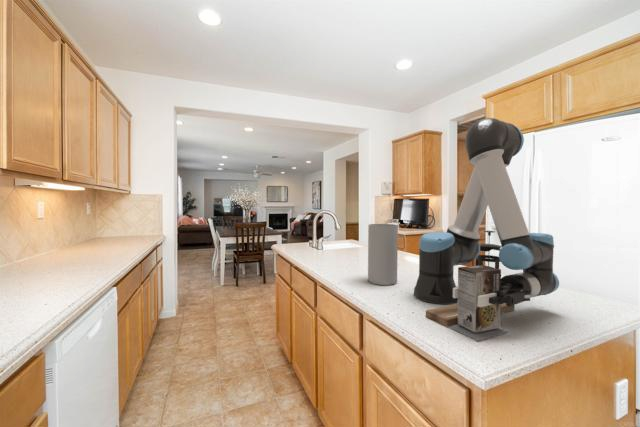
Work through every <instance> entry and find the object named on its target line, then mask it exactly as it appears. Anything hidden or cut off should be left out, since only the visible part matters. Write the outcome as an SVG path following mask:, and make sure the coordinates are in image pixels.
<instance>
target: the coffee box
mask: <svg viewBox="0 0 640 427" xmlns="http://www.w3.org/2000/svg"><path fill="white" fill-rule="evenodd" d="M457 272H458V274H457V275H458V276H457V287H458V301H457V304H458V324H459V325H461V326H463V327H465V328H467V329H469V330H471V331H473V332H475V333H477V332H482V331H487V330H491V329H496V328H501V329H502V327H501V325H502V324H501V323H502V321H501V318H502V317H501V316H502V314H501V304H498V303H497V304H493V305H488V306H484V307H478V296H480V295H485V294H490V293H497V296H498V291H501V278H502V269H501V268H499V269H496V268H495V267H493V266H490V265H489V266H488V265H485V264H483V265H476V264H475V265H467V266H459V267H457Z"/></svg>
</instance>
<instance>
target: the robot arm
mask: <svg viewBox="0 0 640 427" xmlns="http://www.w3.org/2000/svg"><path fill="white" fill-rule="evenodd" d="M464 141H465V142H464V143H465V151H466V153H467V157H468V160H469V163H470V164H472V165H473V166H474V167H473V169H472V173H471V174H470V175H471V176H470V179H469V181H468V184H467V187H466V189H465V192H464V194H463V197H462V201H461V203H460V207H459V209H458V211H457V214H456V216H455V220H454V222H453V223H452V224H451V225H449V226H448V227H447V229H446V232H445V231H444V232H443V231H435V232H428V233H424V234H423V235H421V236H420V239H419V245H418V248H419V258H418V259H419V262H418V263H419V265H418V267H419V268H418V271H419V272H418V277H417V279H416V283H415V286H414V288H413V296H414V298H416V299H418V300H420V301H423V302H426V303H427V302H428V303H431V304H439V305H452V304H456V303H458V286H457V285H456V283H455V278H454V267H455V266H460V265H461V266H462V265H467V264H470V263H471V262H473V261H476V258H477V257H478V255H480V253H481V251H480V245H479V244H480V239H481V235H480V234H479V229H480V227H481V224H482V222H483V219H484V217H485V214H486V211H487V209H489V211H490V215H491V218H492V221H493V224H494V226H495V230H496V233H497V235H498V238H499V241H500V246H502V247H501V248H500V251H499V252H498V257H499V259H500V261H501V262H500V263H501V264H502V265H503V267H505V268H507V269H509V270H514V271H519V270H521V271H522V272H517V273H515V274H514V273H513V274H509V275H508V274H507V275H504V276H501V291H498V296H497V293H490V294H485V295H480V296H478V307H484V306H488V305H493V304H497V303H498V304H503V303H506V305H507V306H513V305H517V304H520V303H523V302H530V301H531V298H536V297H542V296H548V295H549V294H552V293H553V292H556V291H557V290H558V288H559V286H560V281H559V278H558V276H557V274H555V273H554V267H553V265H554V248H555V245H554V241H555V240H554V236H553V235H552V234H550V233H543V232H529V229H528V226H527V224H526V221H525V218H524V215H523V212H522V210H521V208H520V204H519V201H518V198H517V195H516V192H515V190H514V187H513V185H512V181H511V179H510V175H509V173H508V171H507V170H508V169H507V167H509V166H510V164H511V161H512V159H513V157H515V156H516V155H518V154H519V153H520V151H521V150H522V149H523V146H524V143H525V138H524V135H523V131H522V130H521V129H520V128H519V127H518V126H516V125H514V124H513V123H511V122H506V121H503V120H500V119H497V118H493V117H486V118H481V119H479V120H477V121H475V122H474V123H473V124H472V125H471V126H469V128H468V130H467V131H466V133H465V139H464ZM456 286H457V287H456Z"/></svg>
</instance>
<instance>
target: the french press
mask: <svg viewBox="0 0 640 427" xmlns="http://www.w3.org/2000/svg"><path fill="white" fill-rule="evenodd" d="M483 233H487V236H488V243H479V245H480V252H481V251H482V252H487V253H488V254H479V255H478V257H477V258H476V259H475V266H476V265H484V262H487V266H490V263H494V268H496V269H500V263H501V261H500V259H499V255H498V256H496V255H492V254H491V255H490V252H491V251H492V250H493V251H494V250H495V251H499V252H500V249H501V248H502V246H501V244H500V245H499V244H493V243H491V241H490V240H491V239H490V238H491V237H490V236H491V235H492V233H495V230H494V231H493V230H484V231H483Z"/></svg>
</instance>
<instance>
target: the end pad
mask: <svg viewBox="0 0 640 427" xmlns="http://www.w3.org/2000/svg"><path fill="white" fill-rule="evenodd" d="M447 328H448V329H451V330H453V331H454V332H457V333H459V334H461V335H463V336H465V337H467V338H469V339H471V340H473V341H476V342H481V341H484V340H488V339H492V338H495V337H499V336H502V335H506V334H508V333H509V331H507V330H506V329H503V328H502V327H501V328H496V329H491V330H487V331H482V332H477V333H475V332H473V331H471V330H469V329H467V328H465V327H463V326H461V325H459V324H456V325H452V326H448V327H447Z"/></svg>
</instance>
